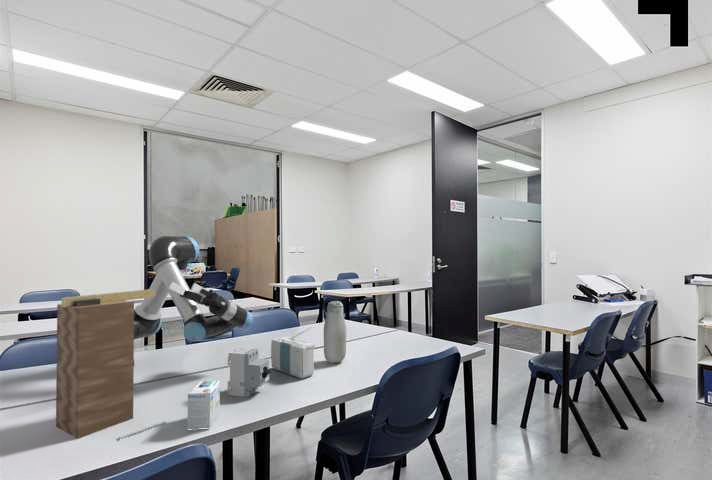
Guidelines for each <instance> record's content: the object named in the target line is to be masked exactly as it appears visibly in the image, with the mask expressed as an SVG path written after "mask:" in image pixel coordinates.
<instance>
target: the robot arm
mask: <svg viewBox="0 0 712 480" xmlns="http://www.w3.org/2000/svg"><path fill="white" fill-rule="evenodd" d="M199 255H200V247H199V244H198V243H197V240H196V239H194V238H193V237H191V236H186V235H185V236H184V235H183V236H174V235H173V236H172V235H162V236H159V237H158V238H155V239H154V240H153V242H151V244H150V246H149V249H148V257H149V258H148V259H149V263H150V265H151V267H152V269H153V271H154V272H156V274H155V277H154V278H153V281H152V282H151V285H150V287H149V288H148V289H153V290H155V297H151V298H143V300H142V302H141V303H140V304H138V305H136V306H135V307H134V340H139V339H143V338H147V337H150V336H152V335H156V333H158V332H159V331H160V329H161V327H162V325H163V321H162V320H163V318H162V313H161V309H162V307H163V305H164V304H165V302H166V300H167V298H168V296H170V298H171V299H172V301H173V303H174V304H175V307H176V309H177V311H178V312H179V315H180V318H182V320H183V322H184V324H185V325H184V327H183V330H182V332H183V336H184V338H185V339H186V340H187V341H189V342H197V341H201V340H203V339H206V338H209V337H214V336H218V335H221V334H222V333H225V332H227V331H230V330H234V329H235V328H239V329H241V330H245V329H248V328H249V327H250V326H251V325H252V323H253V321H254V316H253V314H252V312H250V311H248V310H247V309H245V308H243V307H241V306H240V305H238V304H236V303H234V302H233V300H229V299H227V298H225V297H223V296H222V295H219V294H218V293H217V292H215V291H214V290H213V289H211V288H210V289H206V288H205V287H203V286H201V285H199V284H197V283H195V282H193V284H192V286H191V288H190V287H189V285H188V283H187V281H186V280H185V277H184V276H183V274H182V272H183V271H185V270H187V267H188V266H189V264H190V263H193V262H194V261H196V260H197V259H198V257H199ZM199 305H201V306H203V305H204V306H205V307H208V311H209V313H210V314H212V315H214V316H211V317H207V318H206V317H205V315H204V314H203V312H202V310H201V307H200V306H199Z"/></svg>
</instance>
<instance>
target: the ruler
mask: <svg viewBox="0 0 712 480" xmlns="http://www.w3.org/2000/svg"><path fill="white" fill-rule="evenodd" d="M166 424H167V422H166V420H164V421H160V422H157V423H154V424H151V425H149V426H145V427H143V428H140V429H136V430H134V431H131V432H129V433H128V432H127V433H125V434H123V435H119V436H118V437H117V439H118V441H121V440H120V439H122V440H124V439H123V438H125V439H128V438H130V436H131V437H133V435H134V436H136V435H139V434H142V433H145V432H148V431H150V429H151V430H153V429H152V428H154V429H156V428H158V426H159V427H162V426H165V425H166ZM147 430H148V431H147ZM144 431H145V432H144ZM127 437H128V438H127Z"/></svg>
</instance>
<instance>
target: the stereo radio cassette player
mask: <svg viewBox="0 0 712 480" xmlns="http://www.w3.org/2000/svg"><path fill="white" fill-rule="evenodd" d="M310 329H312V326H310V327H309V328H307V329H305V330H304V331H301V332H300V333H297V334H296V335H294V336H293V337H290V336H283V337H277V338H273V339H271V342H270V343H271V345H270V359H271V361H270V362H271V368H273V369H274V370H277V371H280V372H283V373H285V374H287V375H290V376H293V377H296V378H299V379H301V380H303V379H305V378H309V377H310V376H311V377H312V376H313V375H314V373H315V371H314V370H315V368H314V367H315V365H314V362H315V359H314V357H315V356H314V354H315V353H314V352H315V347H316V346H315V343H312V342H308V341H305V340H300V339H297V338H296V337H299V336H300V335H301V334H303V333H305V332H306V331H308V330H310Z"/></svg>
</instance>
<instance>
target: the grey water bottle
mask: <svg viewBox="0 0 712 480" xmlns="http://www.w3.org/2000/svg"><path fill="white" fill-rule="evenodd" d="M326 310H327V311H326V318H325V321H324V324H323V355H324V358H325V360H326V361H327V362H329V363H330V364H339V363H341V362H342V361H344V360H345V357H346V353H347V324H346V320H345V316H344V305H343V303H342V302H341V301H340V300H331V301H330V302H329V303H328V304H327V307H326Z"/></svg>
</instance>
